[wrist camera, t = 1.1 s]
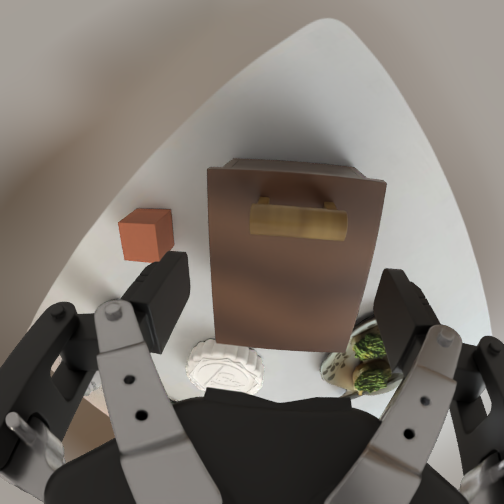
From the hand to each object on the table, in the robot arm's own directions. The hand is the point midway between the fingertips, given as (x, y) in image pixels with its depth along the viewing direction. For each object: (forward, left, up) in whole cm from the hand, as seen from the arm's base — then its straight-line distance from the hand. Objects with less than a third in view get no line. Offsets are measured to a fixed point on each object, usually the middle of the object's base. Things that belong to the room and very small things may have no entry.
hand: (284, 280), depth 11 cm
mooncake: (+25, -16, -20) cm, 36 cm away
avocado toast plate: (+29, +8, -20) cm, 36 cm away
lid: (+6, -1, -10) cm, 12 cm away
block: (+1, -17, -20) cm, 26 cm away
